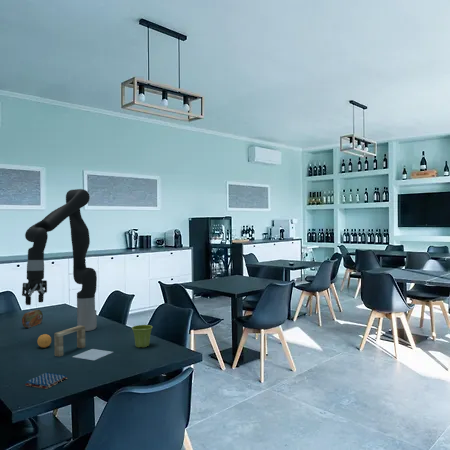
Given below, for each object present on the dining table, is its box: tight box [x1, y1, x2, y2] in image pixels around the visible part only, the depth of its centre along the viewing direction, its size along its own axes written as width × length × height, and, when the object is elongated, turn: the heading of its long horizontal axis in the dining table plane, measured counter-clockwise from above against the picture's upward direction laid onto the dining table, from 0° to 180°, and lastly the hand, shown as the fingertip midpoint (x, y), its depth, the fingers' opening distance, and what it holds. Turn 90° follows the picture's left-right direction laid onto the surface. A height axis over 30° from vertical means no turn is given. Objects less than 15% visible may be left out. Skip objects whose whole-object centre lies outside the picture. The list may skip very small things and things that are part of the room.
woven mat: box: [24, 372, 68, 390], centre depth 149 cm, size 10×11×2 cm
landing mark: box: [72, 348, 114, 362], centre depth 180 cm, size 12×12×1 cm
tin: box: [21, 309, 44, 329], centre depth 235 cm, size 15×3×8 cm, turn 168°
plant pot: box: [131, 324, 153, 348], centre depth 192 cm, size 9×9×9 cm
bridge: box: [53, 325, 86, 357], centre depth 186 cm, size 3×15×10 cm, turn 155°
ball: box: [36, 333, 52, 348], centre depth 192 cm, size 6×6×6 cm
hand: (34, 303), depth 199 cm, fingers open, 8 cm apart
